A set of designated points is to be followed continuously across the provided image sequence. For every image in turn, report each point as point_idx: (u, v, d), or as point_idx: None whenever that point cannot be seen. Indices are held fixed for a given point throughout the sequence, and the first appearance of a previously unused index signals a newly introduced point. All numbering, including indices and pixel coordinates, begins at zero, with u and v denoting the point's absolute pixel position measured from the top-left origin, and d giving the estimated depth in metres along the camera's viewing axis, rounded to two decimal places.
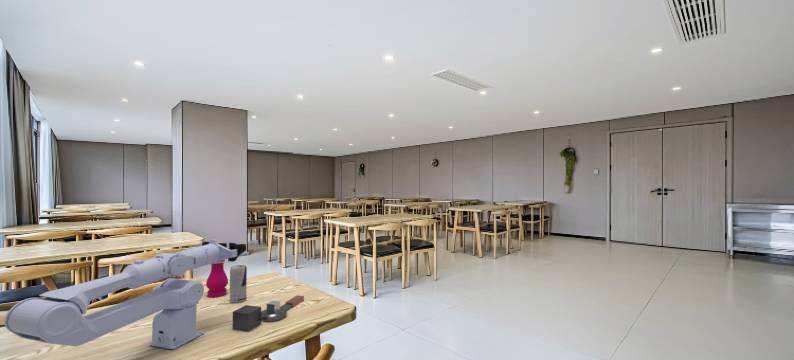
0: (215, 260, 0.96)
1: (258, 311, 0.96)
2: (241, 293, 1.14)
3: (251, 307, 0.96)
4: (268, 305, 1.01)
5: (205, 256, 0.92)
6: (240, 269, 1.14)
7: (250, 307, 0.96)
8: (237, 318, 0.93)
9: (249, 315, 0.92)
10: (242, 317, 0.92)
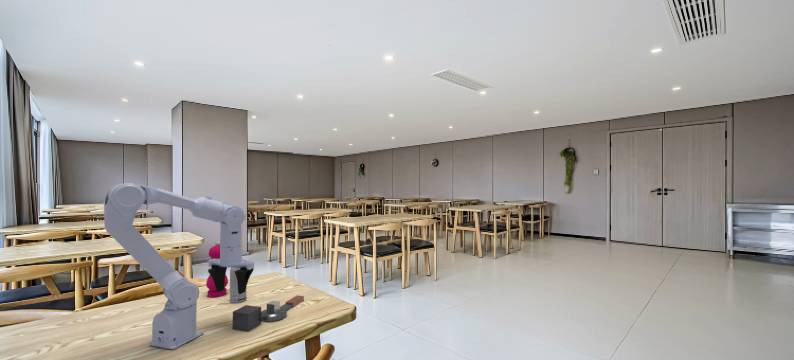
0: (232, 259, 0.95)
1: (258, 311, 0.96)
2: None
3: (251, 307, 0.96)
4: (268, 305, 1.01)
5: (236, 244, 0.95)
6: None
7: (250, 307, 0.96)
8: (237, 318, 0.93)
9: (249, 315, 0.92)
10: (242, 317, 0.92)
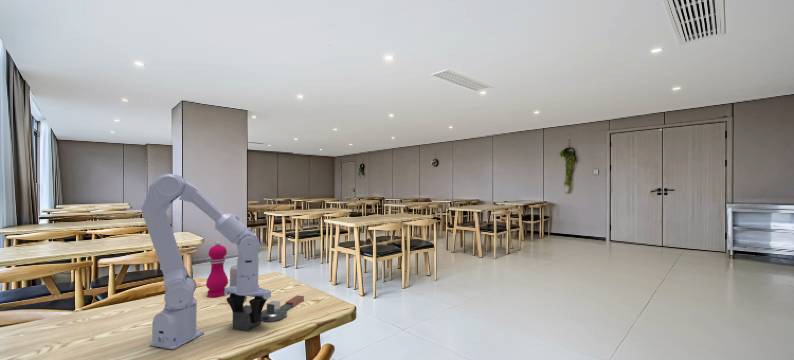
0: (249, 288, 0.93)
1: None
2: None
3: None
4: (268, 305, 1.01)
5: (249, 273, 0.93)
6: None
7: (250, 307, 0.96)
8: (237, 318, 0.93)
9: (249, 315, 0.92)
10: (242, 317, 0.92)
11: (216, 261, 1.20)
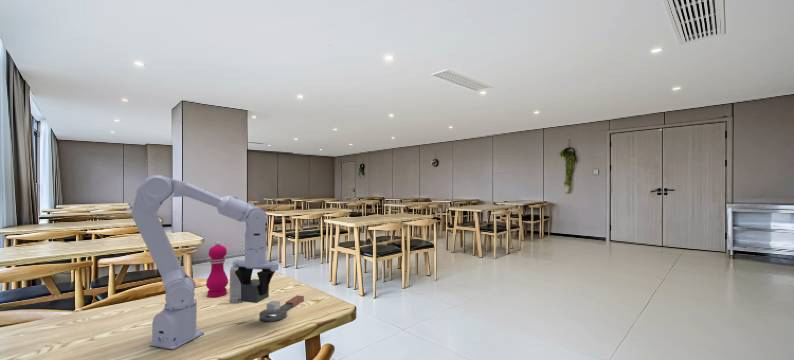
0: (257, 260, 0.95)
1: None
2: None
3: None
4: (268, 305, 1.01)
5: (258, 246, 0.95)
6: None
7: (258, 280, 0.98)
8: (245, 290, 0.95)
9: (257, 287, 0.94)
10: (251, 289, 0.94)
11: (216, 261, 1.20)
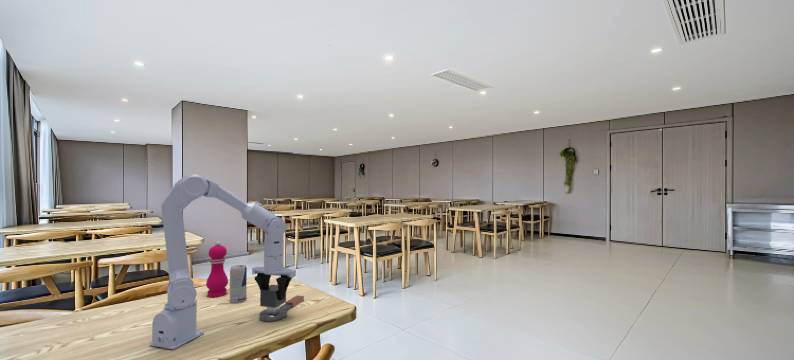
0: (276, 267, 1.00)
1: None
2: (241, 293, 1.14)
3: (277, 286, 1.03)
4: None
5: (277, 253, 1.00)
6: (240, 269, 1.14)
7: (276, 286, 1.03)
8: (264, 295, 1.00)
9: (276, 292, 0.99)
10: (270, 294, 0.99)
11: (216, 261, 1.20)
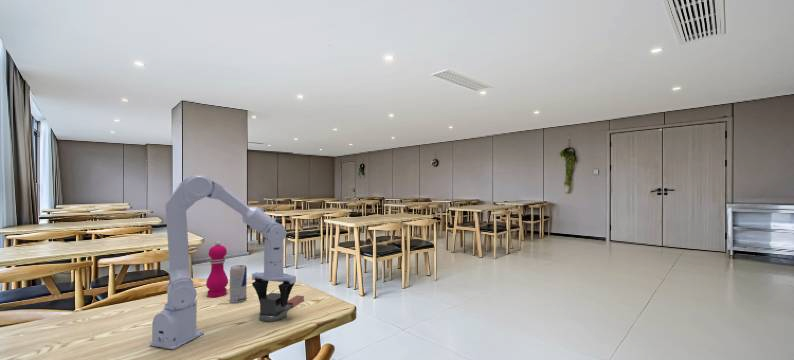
0: (276, 273, 1.00)
1: None
2: (241, 293, 1.14)
3: (276, 294, 1.03)
4: None
5: (277, 259, 1.00)
6: (240, 269, 1.14)
7: (275, 294, 1.03)
8: (264, 304, 1.00)
9: (276, 301, 0.99)
10: (270, 303, 0.99)
11: (216, 261, 1.20)
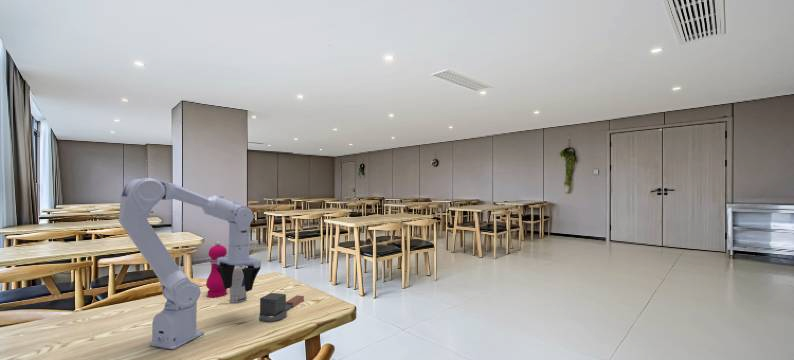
0: (240, 257, 0.97)
1: (283, 298, 1.03)
2: (241, 293, 1.14)
3: (276, 294, 1.03)
4: None
5: (244, 243, 0.98)
6: (240, 269, 1.14)
7: (275, 294, 1.03)
8: (264, 304, 1.00)
9: (276, 301, 0.99)
10: (270, 303, 0.99)
11: (216, 261, 1.20)
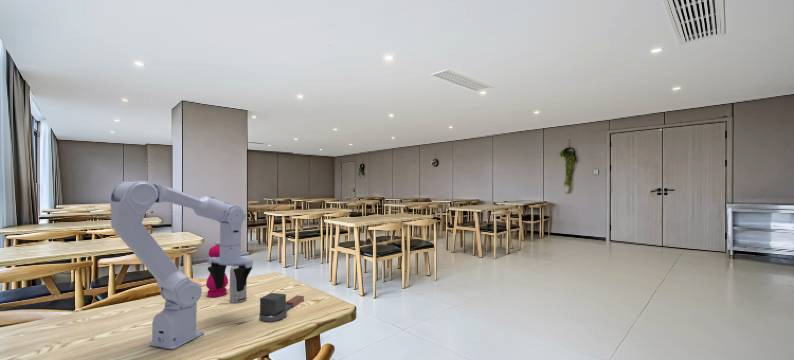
0: (231, 257, 0.97)
1: (283, 298, 1.03)
2: (241, 293, 1.14)
3: (276, 294, 1.03)
4: None
5: (237, 243, 0.98)
6: None
7: (275, 294, 1.03)
8: (264, 304, 1.00)
9: (276, 301, 0.99)
10: (269, 303, 0.99)
11: None
